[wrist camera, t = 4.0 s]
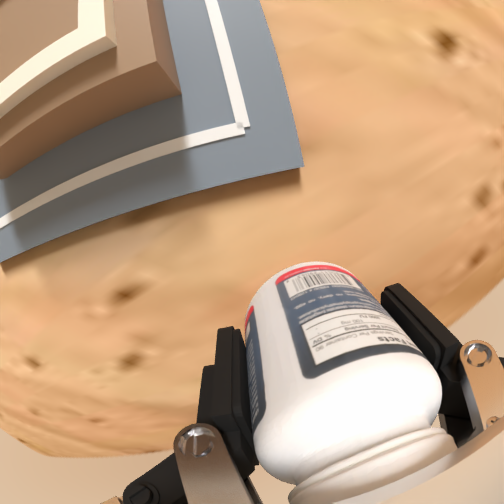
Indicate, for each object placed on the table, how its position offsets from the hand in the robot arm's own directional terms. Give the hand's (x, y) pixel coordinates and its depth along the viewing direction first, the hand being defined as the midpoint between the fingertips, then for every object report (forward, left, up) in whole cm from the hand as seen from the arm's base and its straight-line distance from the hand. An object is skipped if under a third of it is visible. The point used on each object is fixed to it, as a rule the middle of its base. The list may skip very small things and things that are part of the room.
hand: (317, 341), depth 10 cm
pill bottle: (0, 0, -2) cm, 2 cm away
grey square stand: (+8, -15, -4) cm, 17 cm away
